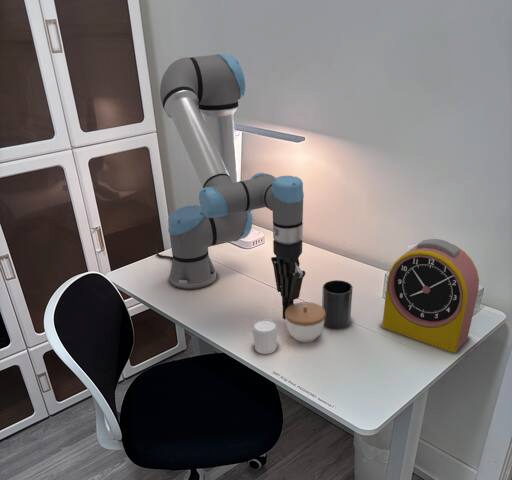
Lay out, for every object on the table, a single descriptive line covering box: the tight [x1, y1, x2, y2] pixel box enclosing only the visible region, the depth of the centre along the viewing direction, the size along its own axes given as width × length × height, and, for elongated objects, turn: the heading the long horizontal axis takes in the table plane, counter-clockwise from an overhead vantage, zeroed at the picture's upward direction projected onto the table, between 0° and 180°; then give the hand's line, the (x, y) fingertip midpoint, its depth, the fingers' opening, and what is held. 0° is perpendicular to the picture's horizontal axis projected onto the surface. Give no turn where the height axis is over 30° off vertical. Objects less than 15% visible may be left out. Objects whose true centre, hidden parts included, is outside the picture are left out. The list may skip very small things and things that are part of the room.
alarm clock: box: [381, 238, 480, 353], centre depth 135 cm, size 21×9×26 cm, turn 50°
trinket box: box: [285, 301, 326, 343], centre depth 141 cm, size 11×11×9 cm
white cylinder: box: [251, 318, 279, 355], centre depth 137 cm, size 7×7×7 cm
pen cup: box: [321, 279, 354, 330], centre depth 146 cm, size 8×8×11 cm
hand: (287, 317), depth 148 cm, fingers closed
